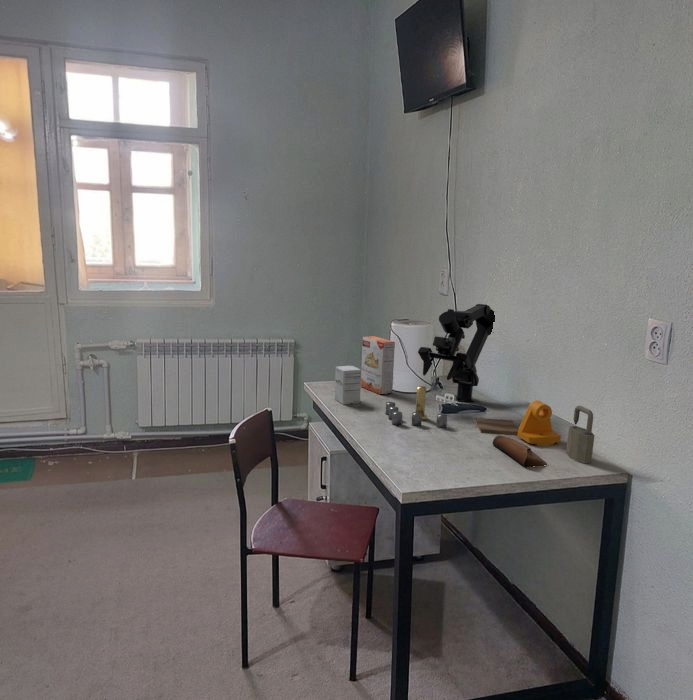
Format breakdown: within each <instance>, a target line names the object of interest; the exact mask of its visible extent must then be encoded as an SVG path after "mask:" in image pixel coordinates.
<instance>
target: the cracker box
mask: <svg viewBox="0 0 693 700" xmlns="http://www.w3.org/2000/svg"><path fill="white" fill-rule="evenodd" d="M395 344H396V343H395V341H393V340H390V339H385V338H383V337H382V338H381V337H379V336H374V335H370V336H369V335H368V336H367V335H366V336H363V337H362V348H361V350H362V351H361V369H360V370H361V388H363V389H366V390H369V391H370V392H373V393H375V392H376V393H375V394H377V393H378V395H380V394H385V395H389V394H388V393H391V394H393V388H394V385H393V384H394V367H395V366H394V364H395V347H396V346H395Z"/></svg>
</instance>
